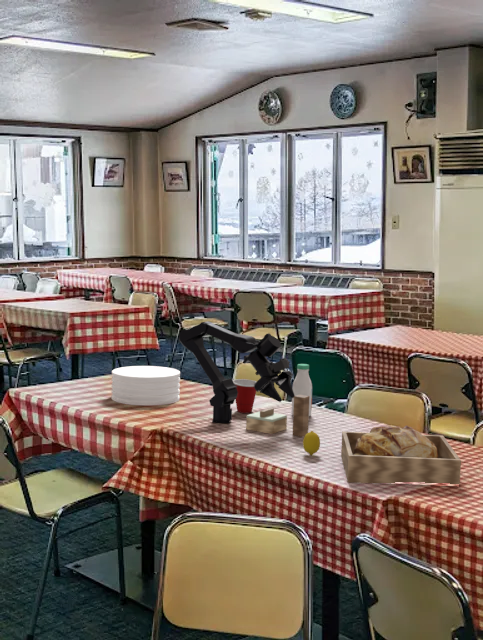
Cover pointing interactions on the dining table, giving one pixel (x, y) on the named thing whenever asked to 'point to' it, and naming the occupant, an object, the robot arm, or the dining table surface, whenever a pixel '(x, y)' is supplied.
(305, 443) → the lemon
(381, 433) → the bread
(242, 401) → the plastic cup
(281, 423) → the open wooden box
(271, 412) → the lid
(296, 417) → the tan rectangular bar
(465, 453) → the dining table surface
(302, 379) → the milk bottle
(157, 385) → the plate stack
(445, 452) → the bread crate
